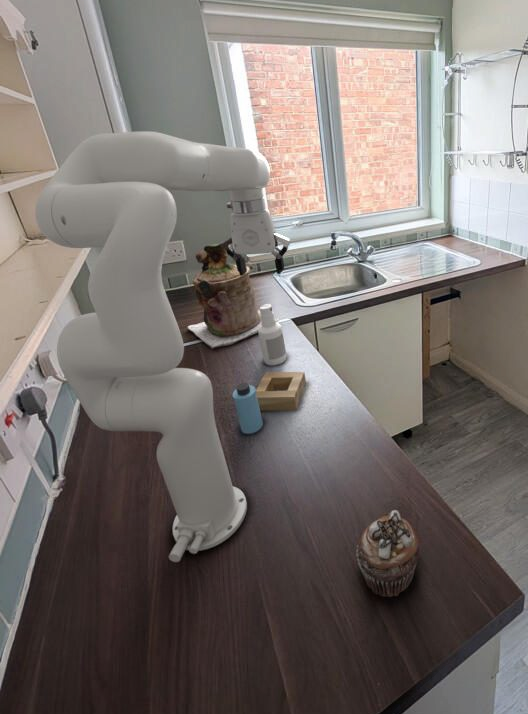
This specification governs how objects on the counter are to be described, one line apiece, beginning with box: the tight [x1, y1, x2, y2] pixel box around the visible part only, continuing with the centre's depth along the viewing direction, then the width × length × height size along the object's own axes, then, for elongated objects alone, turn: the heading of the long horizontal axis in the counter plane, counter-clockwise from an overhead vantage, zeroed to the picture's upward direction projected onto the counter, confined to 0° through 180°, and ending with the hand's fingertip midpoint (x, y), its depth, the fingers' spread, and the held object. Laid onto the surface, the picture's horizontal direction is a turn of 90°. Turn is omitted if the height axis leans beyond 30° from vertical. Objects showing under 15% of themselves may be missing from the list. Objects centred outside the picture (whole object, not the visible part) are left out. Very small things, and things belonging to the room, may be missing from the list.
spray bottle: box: [257, 303, 288, 366], centre depth 119 cm, size 7×7×18 cm
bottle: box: [232, 382, 264, 435], centre depth 94 cm, size 5×5×12 cm
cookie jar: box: [187, 241, 279, 350], centre depth 138 cm, size 25×25×32 cm
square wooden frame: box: [255, 371, 307, 411], centre depth 105 cm, size 11×11×4 cm
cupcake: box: [355, 509, 420, 598], centre depth 61 cm, size 10×10×10 cm
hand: (261, 272), depth 103 cm, fingers open, 9 cm apart
